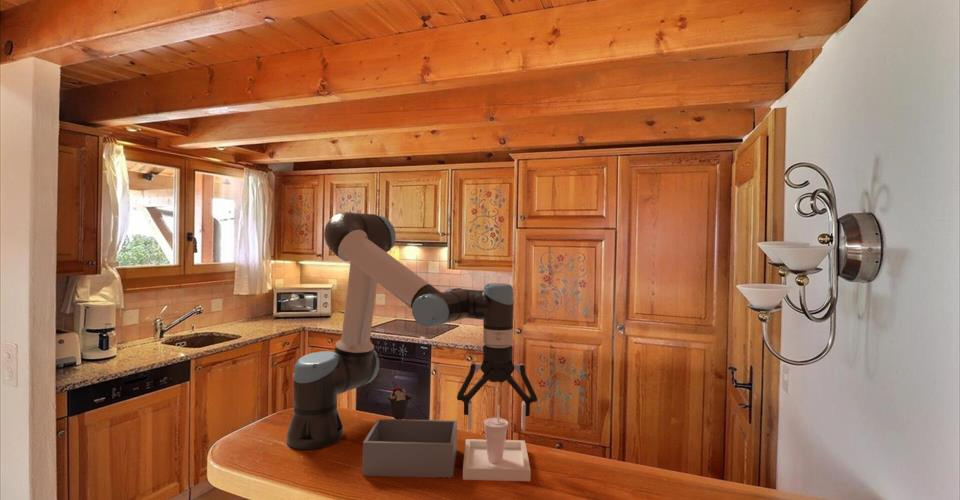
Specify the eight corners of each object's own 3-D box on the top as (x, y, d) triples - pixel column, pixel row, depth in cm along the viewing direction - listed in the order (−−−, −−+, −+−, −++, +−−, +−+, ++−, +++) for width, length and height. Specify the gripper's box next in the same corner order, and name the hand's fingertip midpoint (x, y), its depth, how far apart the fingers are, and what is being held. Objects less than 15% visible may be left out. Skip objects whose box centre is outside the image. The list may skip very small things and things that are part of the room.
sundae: (382, 431, 134) (383, 381, 133) (401, 425, 139) (401, 376, 138) (396, 438, 129) (397, 386, 129) (414, 431, 134) (415, 381, 134)
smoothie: (505, 467, 111) (507, 411, 111) (480, 464, 113) (481, 408, 112) (509, 455, 118) (510, 402, 117) (485, 452, 119) (486, 399, 119)
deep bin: (362, 475, 108) (363, 442, 108) (377, 448, 123) (377, 418, 123) (452, 477, 108) (453, 444, 108) (456, 449, 123) (457, 420, 122)
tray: (462, 479, 107) (462, 468, 107) (465, 448, 123) (465, 439, 123) (530, 481, 107) (530, 469, 107) (524, 450, 123) (524, 440, 123)
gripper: (447, 347, 111) (446, 432, 111) (549, 349, 111) (547, 435, 111) (449, 340, 119) (448, 420, 119) (545, 342, 118) (543, 423, 119)
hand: (496, 428), depth 115 cm, fingers open, 13 cm apart
